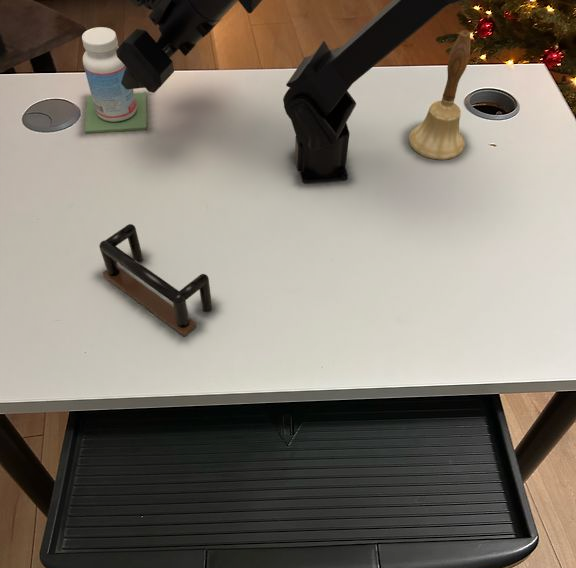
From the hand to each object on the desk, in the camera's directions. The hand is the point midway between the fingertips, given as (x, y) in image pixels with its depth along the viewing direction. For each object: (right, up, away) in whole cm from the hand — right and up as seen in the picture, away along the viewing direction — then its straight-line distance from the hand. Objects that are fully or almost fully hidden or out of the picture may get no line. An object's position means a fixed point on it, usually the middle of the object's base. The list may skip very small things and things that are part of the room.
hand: (140, 68), depth 84 cm
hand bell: (+43, -8, +6) cm, 44 cm away
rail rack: (+5, -33, -11) cm, 35 cm away
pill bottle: (-5, -3, +8) cm, 10 cm away
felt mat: (-6, -3, +8) cm, 10 cm away
